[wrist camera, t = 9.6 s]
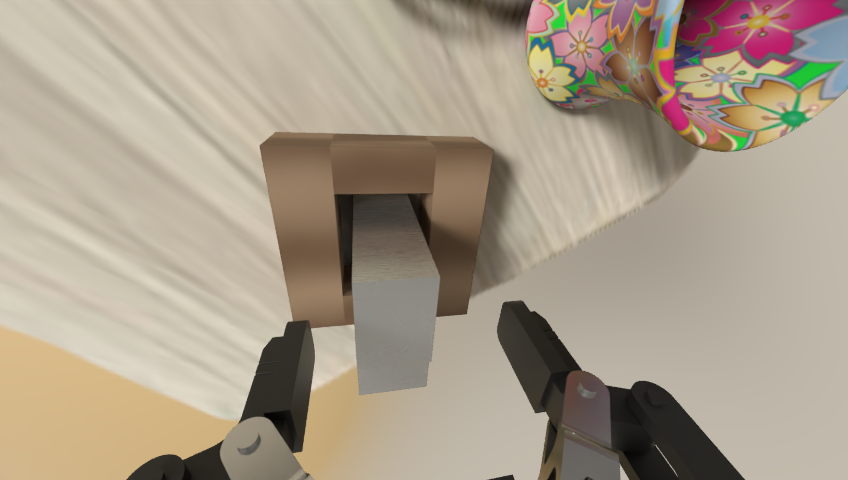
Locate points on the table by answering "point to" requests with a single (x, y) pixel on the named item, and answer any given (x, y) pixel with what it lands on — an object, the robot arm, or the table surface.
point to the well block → (372, 174)
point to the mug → (695, 62)
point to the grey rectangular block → (391, 294)
